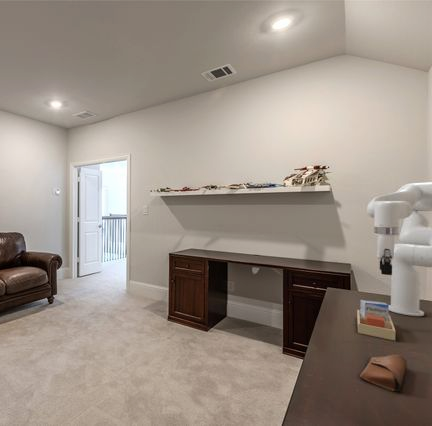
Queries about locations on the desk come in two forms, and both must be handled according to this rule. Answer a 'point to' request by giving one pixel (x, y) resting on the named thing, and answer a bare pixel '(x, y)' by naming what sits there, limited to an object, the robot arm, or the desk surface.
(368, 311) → the medicine box
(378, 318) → the terracotta block
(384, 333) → the sorter
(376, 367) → the sunglasses case
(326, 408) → the desk surface
